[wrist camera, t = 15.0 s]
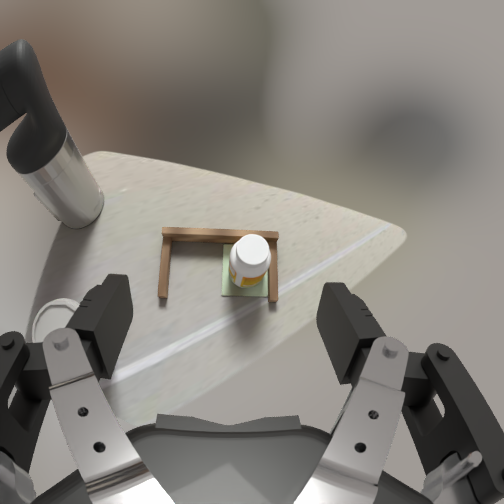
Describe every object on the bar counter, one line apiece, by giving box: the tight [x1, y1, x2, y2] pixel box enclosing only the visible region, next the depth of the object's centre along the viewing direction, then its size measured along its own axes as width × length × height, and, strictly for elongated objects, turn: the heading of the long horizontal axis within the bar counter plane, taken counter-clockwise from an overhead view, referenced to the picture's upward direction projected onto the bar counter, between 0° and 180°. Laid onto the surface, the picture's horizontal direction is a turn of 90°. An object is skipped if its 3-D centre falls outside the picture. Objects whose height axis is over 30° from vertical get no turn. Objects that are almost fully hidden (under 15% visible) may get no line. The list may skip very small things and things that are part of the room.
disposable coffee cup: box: [32, 298, 80, 343], centre depth 32 cm, size 10×10×12 cm
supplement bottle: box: [228, 234, 271, 288], centre depth 39 cm, size 5×5×10 cm
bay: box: [158, 227, 279, 302], centre depth 42 cm, size 17×10×3 cm, turn 90°
